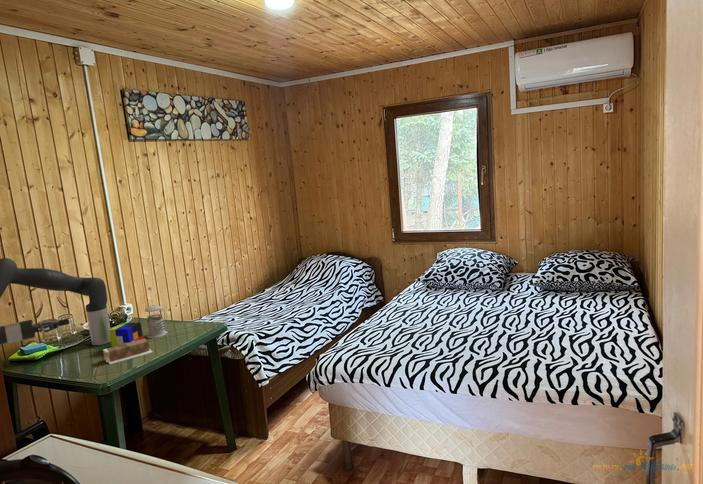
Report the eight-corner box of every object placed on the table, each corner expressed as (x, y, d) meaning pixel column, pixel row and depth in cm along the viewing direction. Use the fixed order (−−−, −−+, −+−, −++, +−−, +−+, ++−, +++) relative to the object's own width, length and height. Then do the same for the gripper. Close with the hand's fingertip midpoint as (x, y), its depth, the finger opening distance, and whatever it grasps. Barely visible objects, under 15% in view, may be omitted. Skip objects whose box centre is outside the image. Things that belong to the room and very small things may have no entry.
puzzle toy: (130, 349, 227) (127, 329, 226) (112, 349, 229) (108, 329, 228) (143, 341, 237) (140, 322, 235) (125, 342, 239) (122, 322, 237)
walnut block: (105, 352, 210) (148, 341, 221) (102, 349, 215) (144, 338, 226) (106, 362, 211) (149, 350, 221) (104, 359, 216) (146, 347, 226)
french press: (142, 336, 245) (135, 289, 241) (162, 329, 255) (155, 283, 251) (155, 338, 240) (147, 290, 236) (174, 331, 249) (167, 284, 246)
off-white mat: (109, 364, 209) (109, 363, 209) (105, 357, 219) (105, 356, 219) (152, 352, 219) (152, 351, 219) (146, 346, 229) (146, 345, 229)
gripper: (18, 325, 189) (69, 315, 199) (17, 319, 199) (65, 309, 209) (22, 344, 190) (72, 332, 200) (20, 336, 200) (68, 326, 210)
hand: (68, 321), depth 204 cm, fingers closed
